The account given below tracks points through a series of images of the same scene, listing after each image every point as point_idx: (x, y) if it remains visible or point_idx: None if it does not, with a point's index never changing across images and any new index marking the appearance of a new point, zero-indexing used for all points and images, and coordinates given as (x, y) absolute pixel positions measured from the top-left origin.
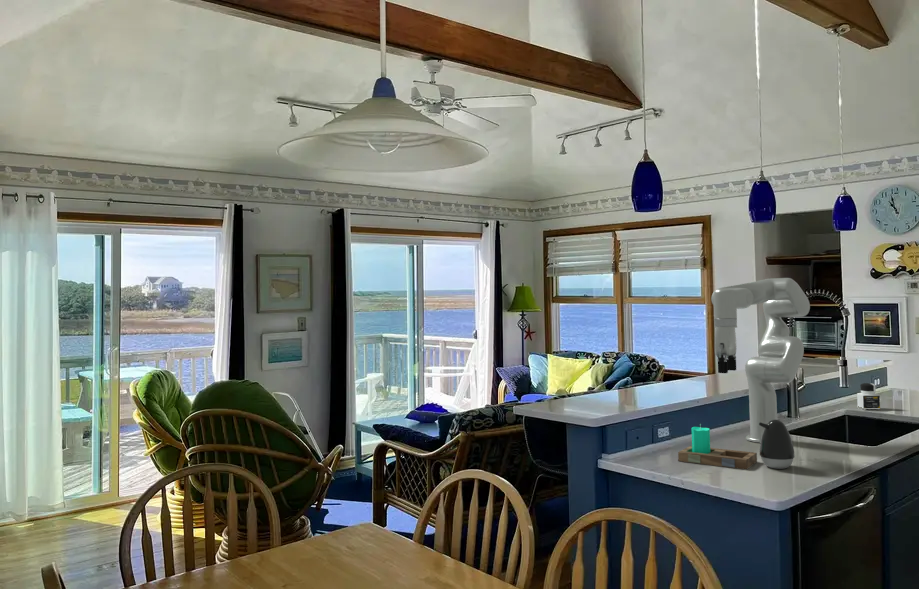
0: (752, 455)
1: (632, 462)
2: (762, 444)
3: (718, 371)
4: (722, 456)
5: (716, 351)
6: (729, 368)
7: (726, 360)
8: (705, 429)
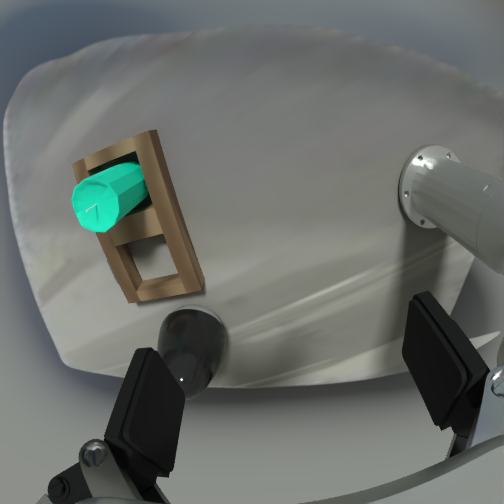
0: (171, 295)
1: (23, 114)
2: (159, 338)
3: (136, 357)
4: (113, 257)
5: None
6: (414, 326)
7: (157, 485)
8: (110, 211)
